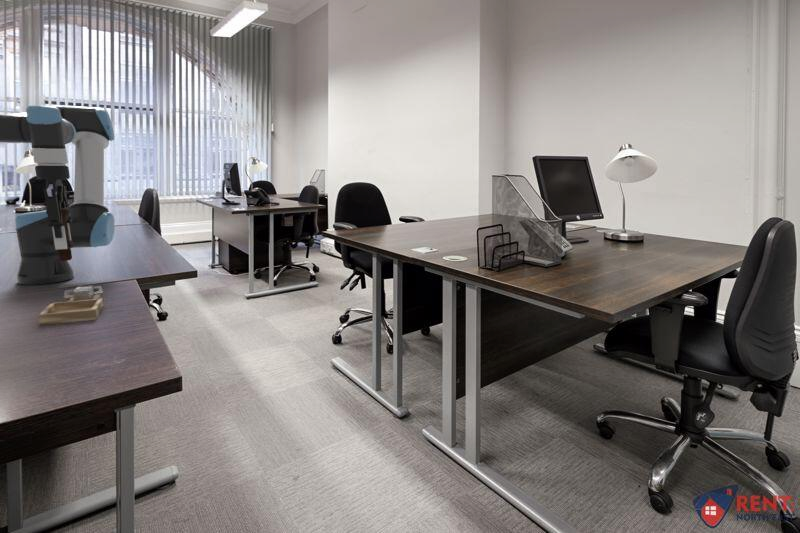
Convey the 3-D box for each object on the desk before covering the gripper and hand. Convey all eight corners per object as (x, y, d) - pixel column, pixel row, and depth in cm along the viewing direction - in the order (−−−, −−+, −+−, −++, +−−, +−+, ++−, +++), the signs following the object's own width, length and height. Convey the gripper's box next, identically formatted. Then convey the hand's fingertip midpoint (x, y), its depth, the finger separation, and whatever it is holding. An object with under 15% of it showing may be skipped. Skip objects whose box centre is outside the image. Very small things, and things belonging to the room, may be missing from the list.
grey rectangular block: (79, 298, 131) (77, 286, 130) (94, 297, 133) (93, 284, 132) (74, 304, 125) (72, 291, 125) (90, 303, 127) (88, 290, 126)
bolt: (81, 258, 135) (74, 207, 131) (68, 262, 130) (60, 209, 127) (63, 257, 135) (56, 207, 132) (49, 261, 130) (41, 208, 127)
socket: (62, 301, 129) (61, 292, 129) (110, 297, 134) (109, 288, 133) (39, 325, 109) (38, 315, 109) (96, 319, 114) (95, 309, 113)
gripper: (44, 164, 133) (56, 242, 138) (24, 165, 117) (38, 253, 122) (74, 164, 136) (85, 241, 141) (59, 165, 120) (72, 252, 125)
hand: (63, 247), depth 132 cm, fingers closed on bolt, 5 cm apart
